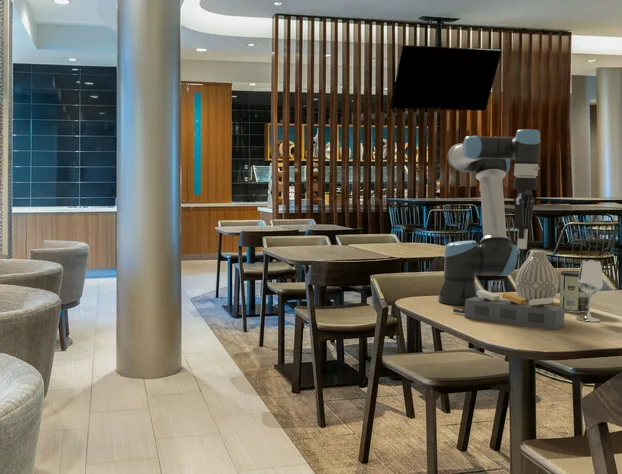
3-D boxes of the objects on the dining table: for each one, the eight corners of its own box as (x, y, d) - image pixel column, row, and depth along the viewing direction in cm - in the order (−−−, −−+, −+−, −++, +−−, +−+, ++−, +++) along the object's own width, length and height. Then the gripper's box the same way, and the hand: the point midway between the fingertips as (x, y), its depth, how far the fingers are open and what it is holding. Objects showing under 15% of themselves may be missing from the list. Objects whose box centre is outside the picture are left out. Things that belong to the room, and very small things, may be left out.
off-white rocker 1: (475, 294, 226) (476, 290, 226) (481, 293, 230) (482, 289, 230) (493, 300, 223) (494, 296, 222) (498, 299, 226) (499, 295, 226)
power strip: (447, 315, 230) (448, 295, 230) (459, 311, 237) (460, 292, 237) (554, 330, 208) (555, 308, 208) (563, 325, 216) (565, 304, 215)
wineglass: (571, 317, 231) (574, 259, 229) (593, 317, 231) (596, 259, 230) (582, 322, 223) (585, 261, 221) (605, 322, 223) (608, 262, 222)
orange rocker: (501, 297, 221) (503, 293, 221) (506, 296, 224) (508, 292, 224) (520, 304, 217) (521, 300, 217) (525, 302, 221) (526, 298, 220)
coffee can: (586, 309, 248) (588, 271, 247) (592, 314, 238) (594, 274, 237) (556, 307, 250) (558, 269, 249) (561, 312, 240) (563, 273, 239)
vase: (526, 297, 273) (528, 248, 272) (564, 303, 262) (567, 251, 260) (506, 301, 262) (508, 250, 260) (545, 307, 251) (548, 253, 249)
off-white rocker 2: (529, 305, 215) (528, 300, 216) (534, 303, 219) (533, 299, 219) (549, 303, 212) (548, 299, 212) (553, 301, 215) (553, 297, 215)
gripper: (529, 177, 214) (525, 251, 217) (543, 177, 225) (540, 247, 227) (507, 176, 219) (503, 249, 221) (521, 176, 229) (518, 245, 232)
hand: (521, 248), depth 224 cm, fingers closed
